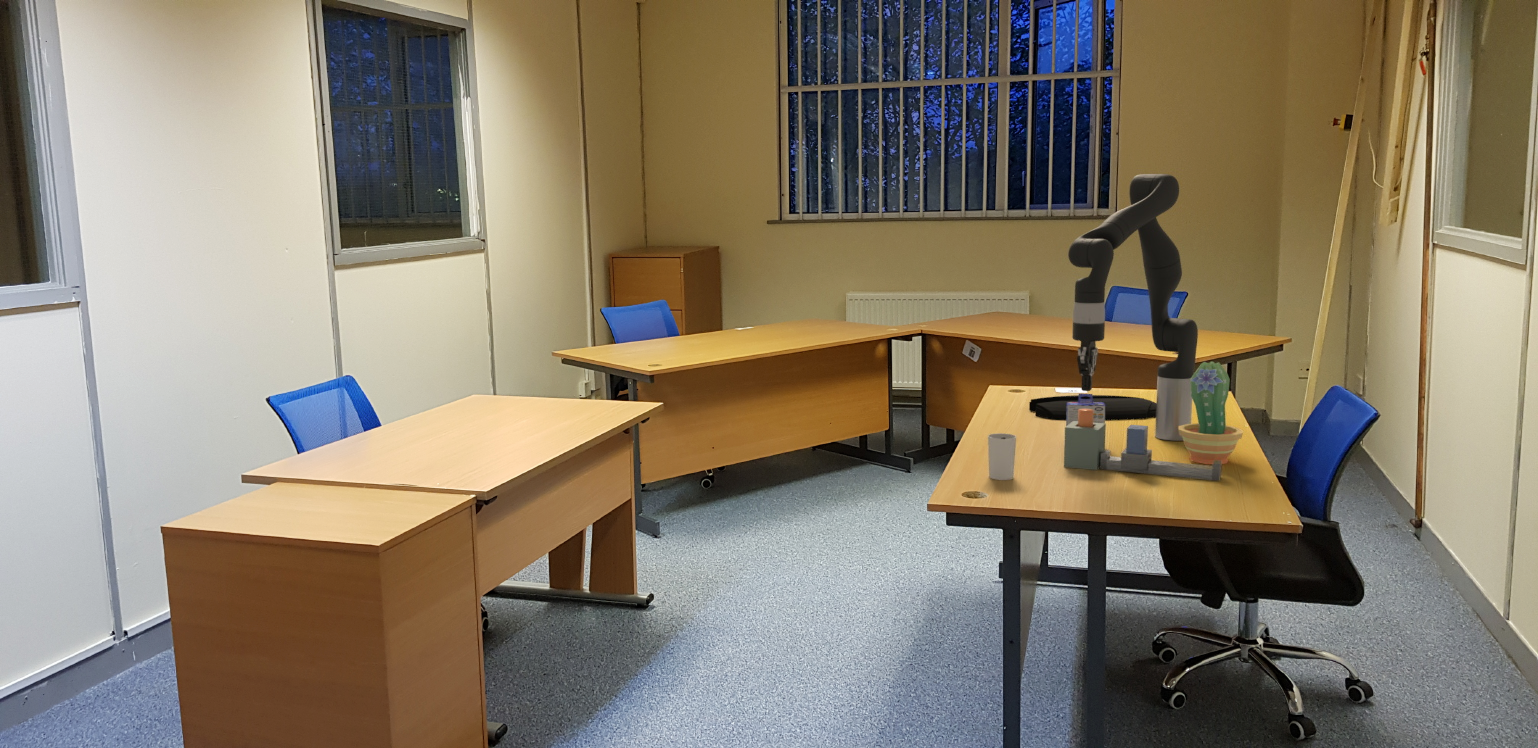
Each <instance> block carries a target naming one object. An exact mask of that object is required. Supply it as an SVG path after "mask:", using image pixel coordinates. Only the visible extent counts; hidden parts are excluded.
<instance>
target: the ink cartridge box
mask: <svg viewBox="0 0 1538 748" xmlns="http://www.w3.org/2000/svg"><path fill="white" fill-rule="evenodd" d="M1078 395H1079V399H1078V402H1067V413H1066V420H1065V421H1066V425H1065V427H1066V426H1067V425H1069V424H1070V423H1071V422H1073V421H1078V410H1079V409H1092V410H1094V412H1093V422H1094V423H1106V420H1105V404H1104V403H1103V402H1093V396H1092V395H1093V393H1078ZM1084 396H1088V397H1090V399H1081V397H1084Z"/></svg>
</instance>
